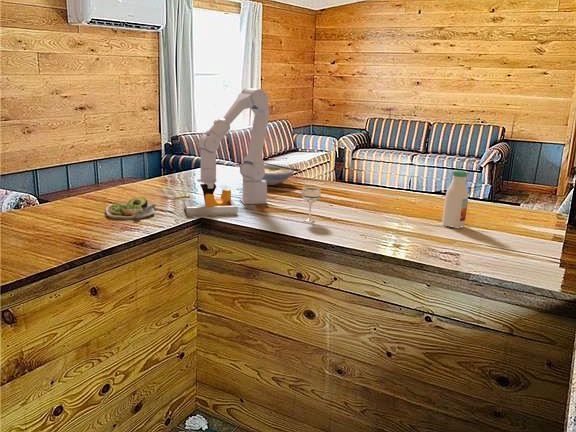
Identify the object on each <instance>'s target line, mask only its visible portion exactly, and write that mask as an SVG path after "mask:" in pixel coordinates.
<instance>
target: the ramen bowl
mask: <svg viewBox="0 0 576 432" xmlns="http://www.w3.org/2000/svg"><path fill="white" fill-rule="evenodd" d="M264 170H265V175H264V177H263V178H262V180H266V182H267V185H274V186H277V185H279V184H282V183H283V182H286V181H287V180H288V179H290V177H291V176H292V175H293V173H294V171H295V172H301V171H302V169H300V168H299V169H298V168H294V167H291V166H287V165H282V164H272V163H268V162H264Z"/></svg>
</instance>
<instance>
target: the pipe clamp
mask: <svg viewBox="0 0 576 432" xmlns="http://www.w3.org/2000/svg"><path fill="white" fill-rule="evenodd" d="M231 198H232V191H231V189H227V188H224V189H222V191H221V195H220V196H218V197H216V198H215V194H214V193H213V194H205V200H204V204H205V205H204V206H229V200H232V199H231Z"/></svg>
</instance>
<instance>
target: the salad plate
mask: <svg viewBox="0 0 576 432" xmlns="http://www.w3.org/2000/svg"><path fill="white" fill-rule="evenodd" d="M155 207H157V204H154V203H152V204H149V203H148V200H147V198H145V197H143V196H142V197H141V196H140V197H134V198H131V199H130V200H128V202H127V204H122V203H121V204H120V203H119V204H118V203H115V204H111V205H108V206H106V207H105V214H106V215H107V216H108V217H109V218H111V219H114V220H122V221H123V220H124V221H125V220H126V221H127V220H139V219H144V218H147V217H151V216H153V215H154V214H155V213H156V212H155V209H154V208H155ZM119 215H120V216H119ZM121 215H122V216H121Z"/></svg>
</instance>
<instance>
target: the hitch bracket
mask: <svg viewBox="0 0 576 432" xmlns="http://www.w3.org/2000/svg"><path fill="white" fill-rule="evenodd" d="M183 204H184V207H183V209H184V211H185V213H186V217H200V216H201V217H204V216H205V217H206V216H209V217H210V216H233V215H238V207H239V206H238V205H236V203H235V202H234V201H233V199H231V200H229V206H205V205H204V206H190V204H189V201H184V202H183Z"/></svg>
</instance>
